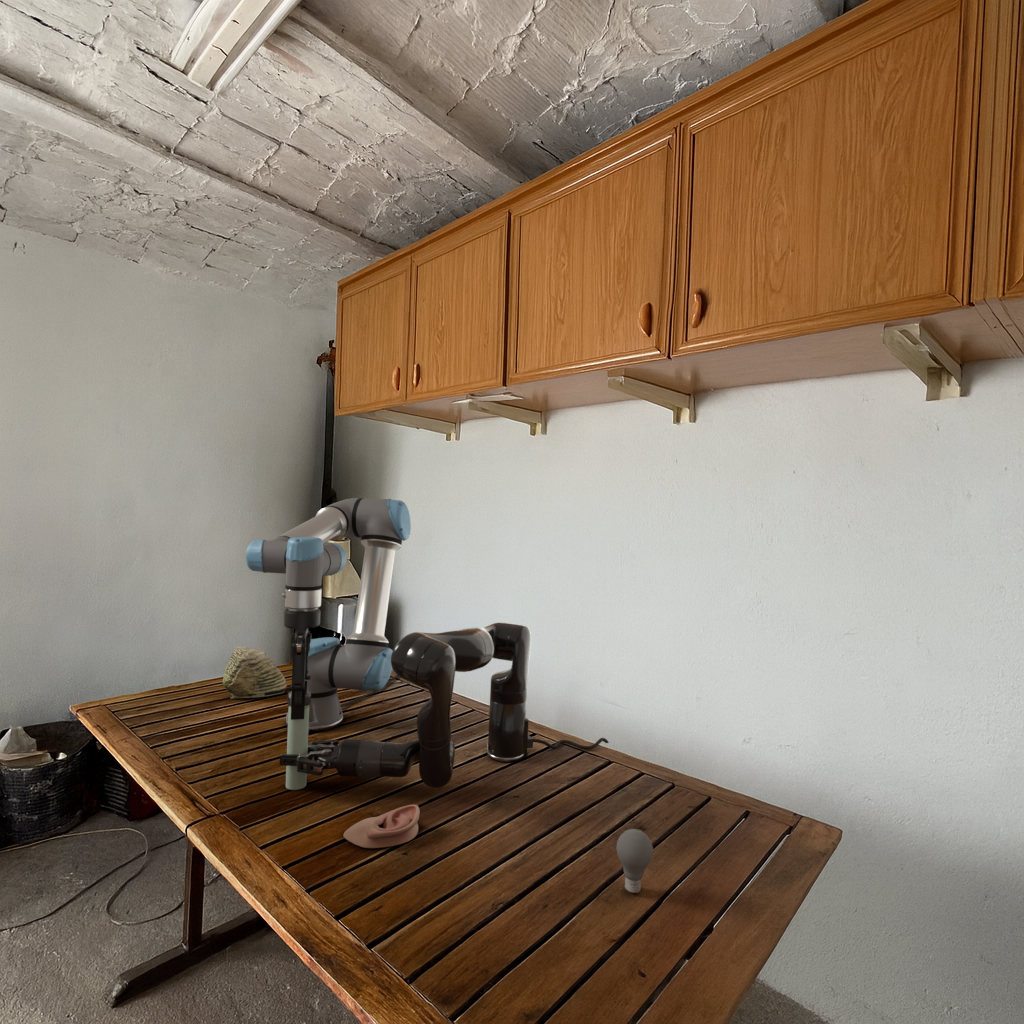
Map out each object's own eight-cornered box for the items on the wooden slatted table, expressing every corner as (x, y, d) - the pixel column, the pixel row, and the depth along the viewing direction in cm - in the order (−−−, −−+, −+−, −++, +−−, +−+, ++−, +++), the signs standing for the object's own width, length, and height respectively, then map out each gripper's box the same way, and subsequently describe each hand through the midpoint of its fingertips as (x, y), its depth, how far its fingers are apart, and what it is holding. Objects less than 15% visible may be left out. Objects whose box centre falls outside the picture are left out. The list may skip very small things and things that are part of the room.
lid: (312, 700, 141) (313, 689, 141) (308, 707, 136) (308, 696, 136) (290, 700, 140) (290, 689, 140) (285, 707, 135) (285, 696, 135)
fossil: (218, 695, 195) (220, 647, 195) (278, 685, 208) (279, 640, 207) (228, 703, 189) (230, 653, 188) (289, 692, 201) (290, 645, 201)
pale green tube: (289, 780, 141) (293, 693, 140) (309, 781, 141) (312, 694, 140) (282, 789, 136) (285, 699, 136) (302, 790, 136) (305, 700, 136)
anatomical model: (336, 822, 116) (363, 794, 127) (335, 843, 116) (362, 813, 127) (404, 832, 113) (426, 803, 124) (403, 854, 113) (425, 823, 124)
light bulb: (610, 879, 108) (613, 822, 108) (644, 879, 109) (647, 822, 109) (619, 902, 102) (622, 840, 102) (655, 901, 103) (658, 840, 103)
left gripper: (288, 601, 145) (284, 702, 146) (279, 615, 128) (275, 730, 129) (322, 601, 147) (318, 701, 148) (318, 615, 130) (314, 728, 130)
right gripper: (370, 729, 145) (296, 726, 145) (355, 754, 131) (272, 750, 131) (369, 761, 146) (294, 758, 146) (353, 790, 131) (271, 786, 131)
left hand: (298, 714), depth 138 cm, fingers closed on lid, 5 cm apart
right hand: (284, 755), depth 138 cm, fingers closed on pale green tube, 4 cm apart
